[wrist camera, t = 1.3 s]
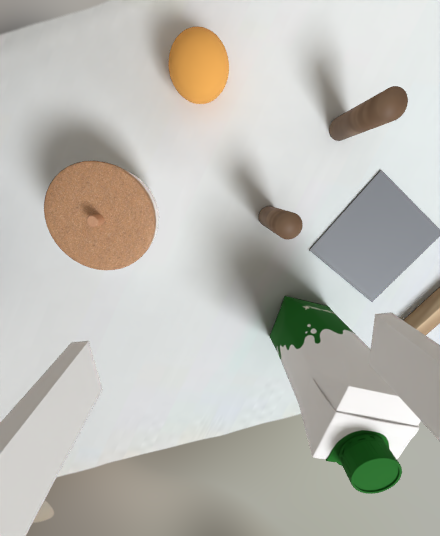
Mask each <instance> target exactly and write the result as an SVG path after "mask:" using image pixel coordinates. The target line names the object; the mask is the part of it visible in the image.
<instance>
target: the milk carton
mask: <svg viewBox="0 0 440 536" xmlns="http://www.w3.org/2000/svg"><path fill="white" fill-rule="evenodd" d="M270 338H271V340H272V342H273V344H274V346H275V348H276V350H277V352H278V354H279V357H280V359H281V362H282V364H283V367H284V369H285V371H286V374H287V376H288V379H289V381H290V384H291V386H292V388H293V391H294V393H295V396H296V398H297V401H298V403H299V407H300V410H301V414H302V418H303V421H304V426H305V430H306V434H307V438H308V441H309V446H310V449H311V454H312V456H313V457H314V458H321V459H326V461H331V462H337V463H338V464H339V465H342V466H343V468H344V470H345V472H346V474H347V476H348V478H349V480H350V482H351V484H352V485H353V487H354V488H355V489H356V490H358V491H360V492H363V493H379V492H382V491H385V490H387V489H389V488H391V487H392V486H394V485H395V484H396V483H397V482H398V480H399V479H400V477H401V474H402V469H401V466H400V464H399V462H398V461H397V459H398V457H399V456H400V454H401V453H402V451H403V450H404V448H405V447H406V446H407V444H408V443H409V441H410V439H411V438H413V437H414V436H415V434H416V433H417V431H418V429H419V426H418V425H419V423H420V422H421V420H420V419H419V418H418V417H417V416H416V415H415V414H414V413H413V411H412V410H411V409H410V408H409V407H408V406H407V405H406V404H405V403H404V402H403V400H402V399H401V398H400V397H399V396H398V395H397V394H396V393H395V392H394V391H393V390H392V388H391V387H390V386H389V385H388V384H387V383H386V382H385V381H384V380H383V379H382V378H381V376H380V375H379V374H378V373H377V372H376V371H375V370H374V369H373V368H372V367H371V366H370V364H369V359H370V351H371V349H370V348H369V347H368V346H367V345H366V344H365V343H364V342H363V341H362V340H361V339H360V338H359V337H358V336H357V335H356V334H355V333H354V332H353V331H352V330H351V329H350V328H349V327H348V326H347V325H346V324H345V323H344V322H343V321H342V320H341V319H340V318H339V317H338V316H337V315H336V314H335V313H334V312H333V311H332V310H331V309H330V308H329V307H328V306H325V305H321V304H317V303H312V302H308V301H304V300H300V299H296V298H292V297H287V296H285V297H284V300H283V302H282V305H281V308H280V310H279V313H278V316H277V318H276V321H275V324H274V326H273V329H272V332H271V334H270Z"/></svg>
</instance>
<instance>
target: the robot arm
mask: <svg viewBox="0 0 440 536" xmlns="http://www.w3.org/2000/svg"><path fill="white" fill-rule="evenodd" d="M369 364H370V366H371V367H372V368H373V369H374V370H375V371H376V372H377V373H378V374H379V375H380V376H381V378H382V379H383V380H384V381H385V382H386V383H387V384H388V385H389V386H390V387H391V388H392V390H393V391H394V392H395V393H396V394H397V395H398V396H399V397H400V398H401V399H402V400H403V402H404V403H405V404H406V405H407V406H408V407H409V408H410V409H411V410H412V411H413V413H414V414H415V415H416V416H417V417H418V418H419V419H420V420H421V421H422V422H423V423H424V425H425V426H426V427H427V428H428V429H429V430H430V431H431V432H432V433H433V434H434V435H435V437H436V438H437V439H438V440H439V441H440V345H439V344H437V343H436V342H434V341H433V340H431V339H430V338H428V337H427V336H425V335H424V334H422V333H421V332H419V331H418V330H416V329H415V328H414V327H412V326H411V325H409V324H408V323H406V322H405V321H403V320H402V319H400V318H399V317H397V316H396V315H394V314H393V313H382V314H375V320H374V328H373V335H372V343H371V351H370V359H369ZM101 391H102V386H101V383H100V379H99V376H98V372H97V369H96V365H95V362H94V358H93V354H92V351H91V347H90V344H89V341H83V342H72V343H71V344H70V345H69V346H68V347H67V348H66V349H65V351H64V352H63V353H62V354H61V355H60V356H59V357H58V358H57V360H56V361H55V362H54V363H53V364H52V365H51V366H50V367H49V369H48V370H47V371H46V372H45V373H44V374H43V375H42V376H41V378H40V379H39V380H38V381H37V382H36V383H35V384H34V385H33V387H32V388H31V389H30V390H29V391H28V392H27V393H26V394H25V396H24V397H23V398H22V399H21V400H20V401H19V402H18V403H17V405H16V406H15V407H14V408H13V409H12V410H11V411H10V413H9V414H8V415H7V416H6V417H5V418H4V419H3V420H2V422H1V423H0V536H26V534H27V532H28V530H29V528H30V526H31V524H32V523H33V521H34V519H35V517H36V515H37V513H38V511H39V509H40V507H41V505H42V504H43V502H44V500H45V498H46V496H47V494H48V492H49V490H50V488H51V486H52V485H53V483H54V481H55V479H56V477H57V475H58V473H59V471H60V469H61V467H62V466H63V464H64V462H65V460H66V458H67V456H68V454H69V452H70V450H71V448H72V447H73V445H74V443H75V441H76V439H77V437H78V435H79V433H80V431H81V429H82V428H83V426H84V424H85V422H86V420H87V418H88V416H89V414H90V412H91V410H92V409H93V407H94V405H95V403H96V401H97V399H98V397H99V395H100V393H101Z"/></svg>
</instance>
